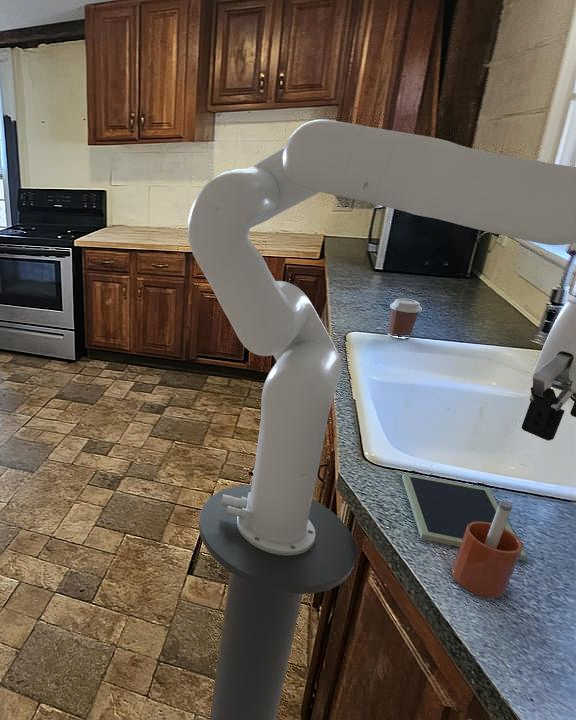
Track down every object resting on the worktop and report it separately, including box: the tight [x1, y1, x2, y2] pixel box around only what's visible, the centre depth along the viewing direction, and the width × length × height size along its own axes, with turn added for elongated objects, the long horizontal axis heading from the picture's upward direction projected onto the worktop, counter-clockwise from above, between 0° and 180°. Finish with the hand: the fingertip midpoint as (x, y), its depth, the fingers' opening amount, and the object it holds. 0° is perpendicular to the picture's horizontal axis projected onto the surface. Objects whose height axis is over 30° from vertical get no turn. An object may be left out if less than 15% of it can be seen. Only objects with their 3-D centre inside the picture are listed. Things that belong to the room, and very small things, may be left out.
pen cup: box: [451, 521, 524, 599], centre depth 75 cm, size 6×6×8 cm
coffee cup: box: [387, 298, 423, 337], centre depth 172 cm, size 9×9×12 cm
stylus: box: [485, 500, 513, 549], centre depth 74 cm, size 1×1×13 cm
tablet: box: [401, 472, 528, 562], centre depth 90 cm, size 14×18×1 cm
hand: (561, 427), depth 64 cm, fingers open, 9 cm apart
